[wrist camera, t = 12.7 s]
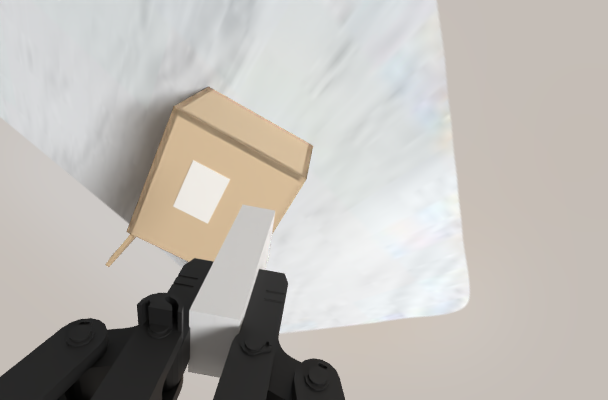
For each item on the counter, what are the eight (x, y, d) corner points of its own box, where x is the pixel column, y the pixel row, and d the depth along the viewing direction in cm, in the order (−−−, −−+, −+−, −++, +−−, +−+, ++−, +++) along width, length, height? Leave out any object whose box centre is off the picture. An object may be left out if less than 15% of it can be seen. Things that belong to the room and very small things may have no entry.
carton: (208, 86, 42) (173, 106, 33) (313, 145, 44) (306, 179, 35) (164, 192, 49) (126, 232, 40) (256, 238, 51) (239, 286, 42)
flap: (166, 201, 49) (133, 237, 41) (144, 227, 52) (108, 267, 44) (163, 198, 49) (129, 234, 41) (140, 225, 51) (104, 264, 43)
